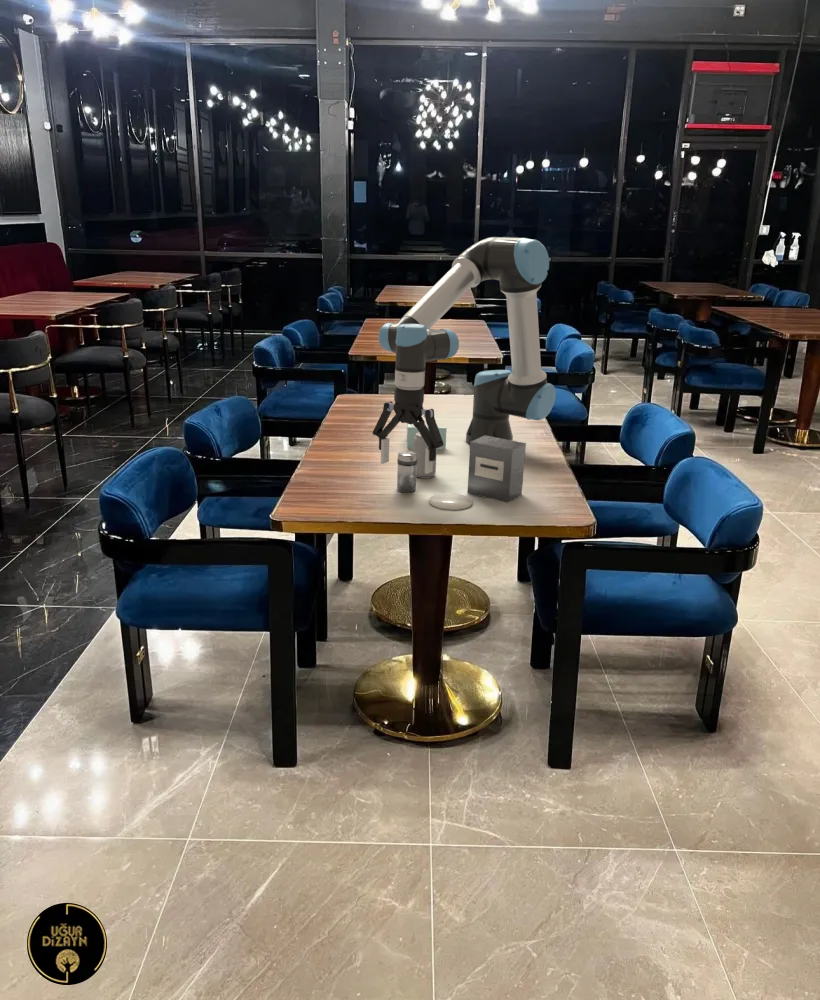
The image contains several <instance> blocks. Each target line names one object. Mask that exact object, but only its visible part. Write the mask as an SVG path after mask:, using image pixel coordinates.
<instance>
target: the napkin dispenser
mask: <svg viewBox="0 0 820 1000" xmlns="http://www.w3.org/2000/svg"><path fill="white" fill-rule="evenodd" d="M526 446H527V442H522V441H517V440H513V441H512V440H506V439H501V438H496V437H490V436H485V435H484V436H482V437H480V438H478V439H476V440H474V441H471V442H470V445H469V461H468V475H467V491H466V492H467V494H470V495H474V496H479V497H483V498H487V499H492V500H495V501H500V502H505V503H510V502H512V501H513V500H516V498H518V497H519V496H521V495H522V493H523V482H524V472H525V470H524V469H525V457H526V448H527V447H526Z"/></svg>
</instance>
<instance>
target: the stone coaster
mask: <svg viewBox="0 0 820 1000" xmlns="http://www.w3.org/2000/svg"><path fill="white" fill-rule="evenodd" d="M428 503H429V505H430V506H431V507H434V508H436V509H438V510H439V509H440V510H445V511H461V510H466V509H469V508H470V507H472V506H473V500H472V498H471V497H468V495H465V494H462V493H461V494H460V493H454V492H442V493H437V494H433V495H431V496H430V497H429V498H428Z"/></svg>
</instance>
